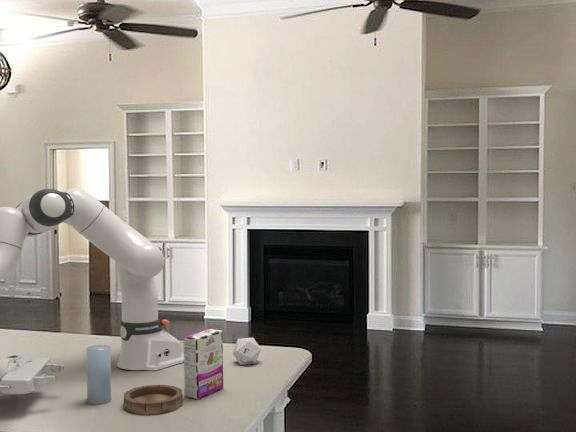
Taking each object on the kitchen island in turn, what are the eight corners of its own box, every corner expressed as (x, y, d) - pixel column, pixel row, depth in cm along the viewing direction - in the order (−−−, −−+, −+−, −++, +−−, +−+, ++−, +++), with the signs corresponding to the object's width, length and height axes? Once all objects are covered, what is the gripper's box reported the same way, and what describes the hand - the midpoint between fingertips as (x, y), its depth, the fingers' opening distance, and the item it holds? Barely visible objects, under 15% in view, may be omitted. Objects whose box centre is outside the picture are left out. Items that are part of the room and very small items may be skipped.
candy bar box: (209, 385, 178) (209, 328, 177) (223, 388, 175) (223, 330, 174) (183, 396, 168) (182, 335, 167) (197, 400, 165) (197, 338, 165)
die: (227, 365, 201) (232, 345, 195) (237, 346, 207) (242, 327, 202) (250, 375, 200) (256, 356, 194) (260, 356, 206) (266, 337, 200)
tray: (163, 391, 173) (163, 381, 172) (193, 405, 162) (193, 394, 161) (113, 403, 163) (113, 393, 162) (142, 419, 152) (142, 407, 152)
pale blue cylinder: (104, 395, 169) (104, 343, 168) (115, 401, 165) (114, 347, 164) (83, 400, 165) (82, 347, 164) (93, 406, 161) (92, 351, 160)
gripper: (-11, 375, 151) (49, 373, 153) (15, 353, 171) (68, 351, 173) (-10, 401, 151) (50, 399, 153) (15, 376, 172) (68, 374, 173)
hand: (59, 373), depth 163 cm, fingers open, 8 cm apart
